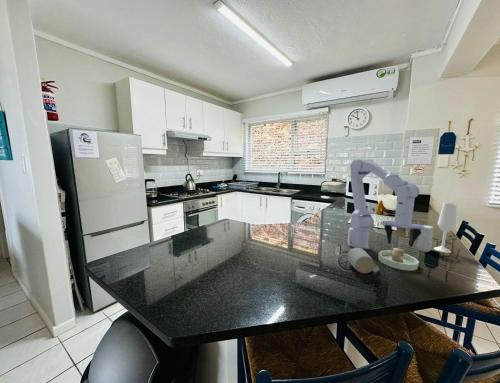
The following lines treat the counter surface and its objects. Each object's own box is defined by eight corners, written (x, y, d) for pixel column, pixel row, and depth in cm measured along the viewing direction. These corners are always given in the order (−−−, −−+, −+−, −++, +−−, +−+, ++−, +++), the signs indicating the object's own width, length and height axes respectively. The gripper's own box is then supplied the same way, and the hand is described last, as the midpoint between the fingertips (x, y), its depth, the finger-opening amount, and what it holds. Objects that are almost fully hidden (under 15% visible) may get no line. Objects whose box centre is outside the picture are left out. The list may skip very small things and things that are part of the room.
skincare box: (426, 252, 104) (430, 228, 103) (415, 249, 108) (419, 226, 106) (431, 250, 108) (435, 226, 106) (420, 247, 111) (424, 224, 110)
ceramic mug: (355, 274, 80) (357, 255, 79) (346, 264, 88) (348, 246, 87) (383, 276, 80) (386, 256, 79) (371, 265, 88) (374, 248, 87)
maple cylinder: (392, 261, 91) (394, 250, 90) (390, 258, 94) (392, 247, 94) (404, 263, 89) (405, 252, 88) (401, 260, 93) (403, 249, 92)
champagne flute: (454, 253, 104) (462, 205, 101) (437, 251, 106) (445, 203, 103) (446, 248, 110) (454, 203, 107) (431, 246, 113) (438, 201, 109)
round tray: (381, 266, 88) (382, 260, 87) (375, 253, 101) (376, 248, 100) (423, 273, 83) (424, 267, 82) (411, 259, 96) (411, 253, 95)
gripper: (385, 212, 88) (381, 244, 90) (429, 217, 83) (424, 251, 84) (382, 209, 94) (378, 239, 96) (422, 213, 89) (417, 244, 91)
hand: (399, 244), depth 91 cm, fingers open, 7 cm apart
